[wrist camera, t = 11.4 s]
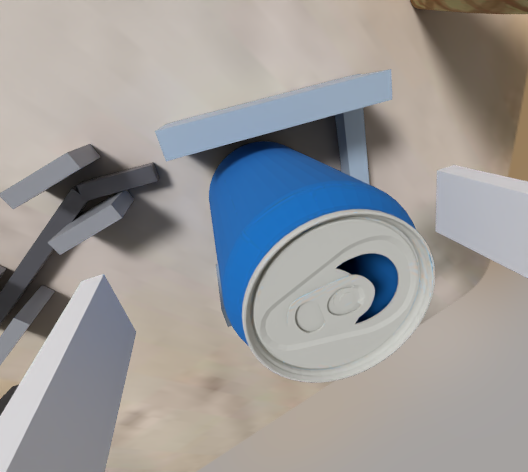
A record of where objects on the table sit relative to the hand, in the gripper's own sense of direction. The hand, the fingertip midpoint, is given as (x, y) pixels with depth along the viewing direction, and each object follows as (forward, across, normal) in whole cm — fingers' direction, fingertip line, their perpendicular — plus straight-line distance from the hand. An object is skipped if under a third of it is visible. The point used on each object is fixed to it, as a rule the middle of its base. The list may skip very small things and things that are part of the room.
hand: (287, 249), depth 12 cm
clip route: (+8, -12, 0) cm, 14 cm away
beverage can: (+8, +1, 0) cm, 8 cm away
